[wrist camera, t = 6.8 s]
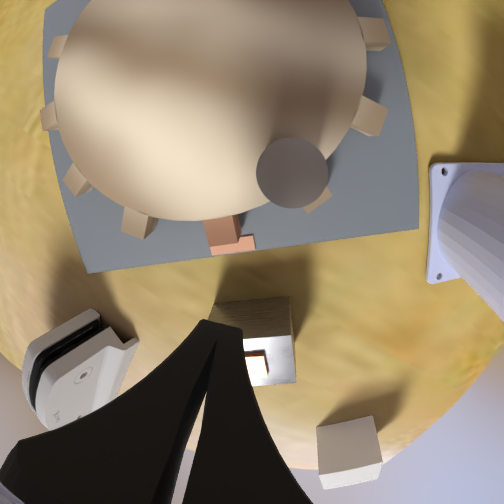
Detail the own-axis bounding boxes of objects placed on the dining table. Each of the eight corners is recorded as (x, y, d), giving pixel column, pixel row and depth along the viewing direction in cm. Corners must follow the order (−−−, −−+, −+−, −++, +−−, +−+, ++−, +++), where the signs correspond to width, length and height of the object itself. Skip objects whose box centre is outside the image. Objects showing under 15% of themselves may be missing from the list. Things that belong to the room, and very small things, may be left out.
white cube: (370, 437, 25) (377, 478, 19) (321, 447, 26) (323, 489, 20) (372, 414, 23) (382, 462, 17) (315, 426, 24) (318, 475, 18)
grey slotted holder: (111, 411, 27) (57, 452, 18) (86, 384, 28) (31, 420, 19) (140, 338, 20) (44, 398, 11) (105, 299, 21) (9, 342, 12)
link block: (288, 295, 18) (291, 338, 14) (294, 341, 19) (296, 386, 15) (214, 302, 18) (198, 344, 14) (227, 346, 20) (216, 389, 16)
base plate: (338, -67, 7) (341, -79, 6) (408, 220, 15) (419, 229, 13) (56, 13, 10) (44, 9, 9) (98, 264, 18) (86, 274, 16)
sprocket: (124, -57, 7) (89, -87, 2) (413, -3, 8) (454, -37, 3) (36, 184, 14) (-17, 205, 9) (301, 283, 15) (309, 344, 11)
